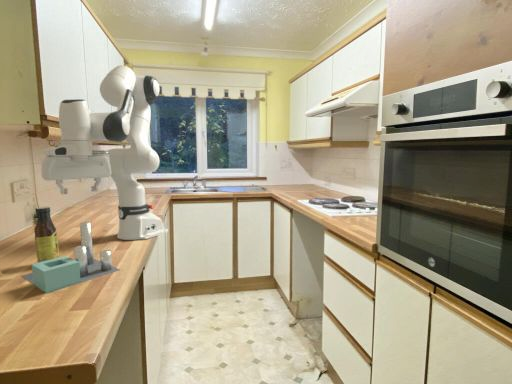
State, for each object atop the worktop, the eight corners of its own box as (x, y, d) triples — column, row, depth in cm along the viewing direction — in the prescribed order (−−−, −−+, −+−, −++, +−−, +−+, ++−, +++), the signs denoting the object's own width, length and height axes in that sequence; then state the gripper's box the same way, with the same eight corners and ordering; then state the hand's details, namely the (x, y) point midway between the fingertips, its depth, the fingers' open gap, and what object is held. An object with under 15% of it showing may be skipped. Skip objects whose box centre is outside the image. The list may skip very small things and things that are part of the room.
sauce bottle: (62, 265, 109) (57, 207, 106) (41, 270, 105) (35, 210, 102) (56, 260, 113) (51, 205, 111) (35, 265, 109) (29, 207, 106)
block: (67, 274, 99) (65, 255, 98) (80, 281, 94) (79, 262, 93) (33, 284, 92) (31, 264, 91) (46, 292, 87) (43, 271, 86)
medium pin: (85, 272, 101) (83, 244, 99) (90, 275, 99) (88, 246, 97) (74, 276, 98) (72, 247, 97) (79, 278, 96) (76, 249, 95)
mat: (90, 258, 115) (90, 257, 115) (120, 271, 103) (120, 269, 103) (21, 277, 99) (20, 275, 98) (47, 295, 86) (46, 293, 86)
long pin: (91, 261, 111) (87, 221, 109) (95, 263, 109) (92, 222, 107) (81, 264, 108) (77, 223, 106) (85, 266, 106) (82, 224, 104)
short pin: (108, 266, 105) (107, 249, 105) (113, 269, 103) (112, 251, 103) (99, 269, 103) (97, 251, 102) (104, 272, 101) (102, 253, 100)
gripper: (104, 150, 114) (107, 189, 115) (37, 150, 98) (41, 195, 100) (113, 150, 110) (115, 190, 111) (44, 149, 94) (48, 196, 96)
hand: (80, 192), depth 106 cm, fingers open, 8 cm apart
